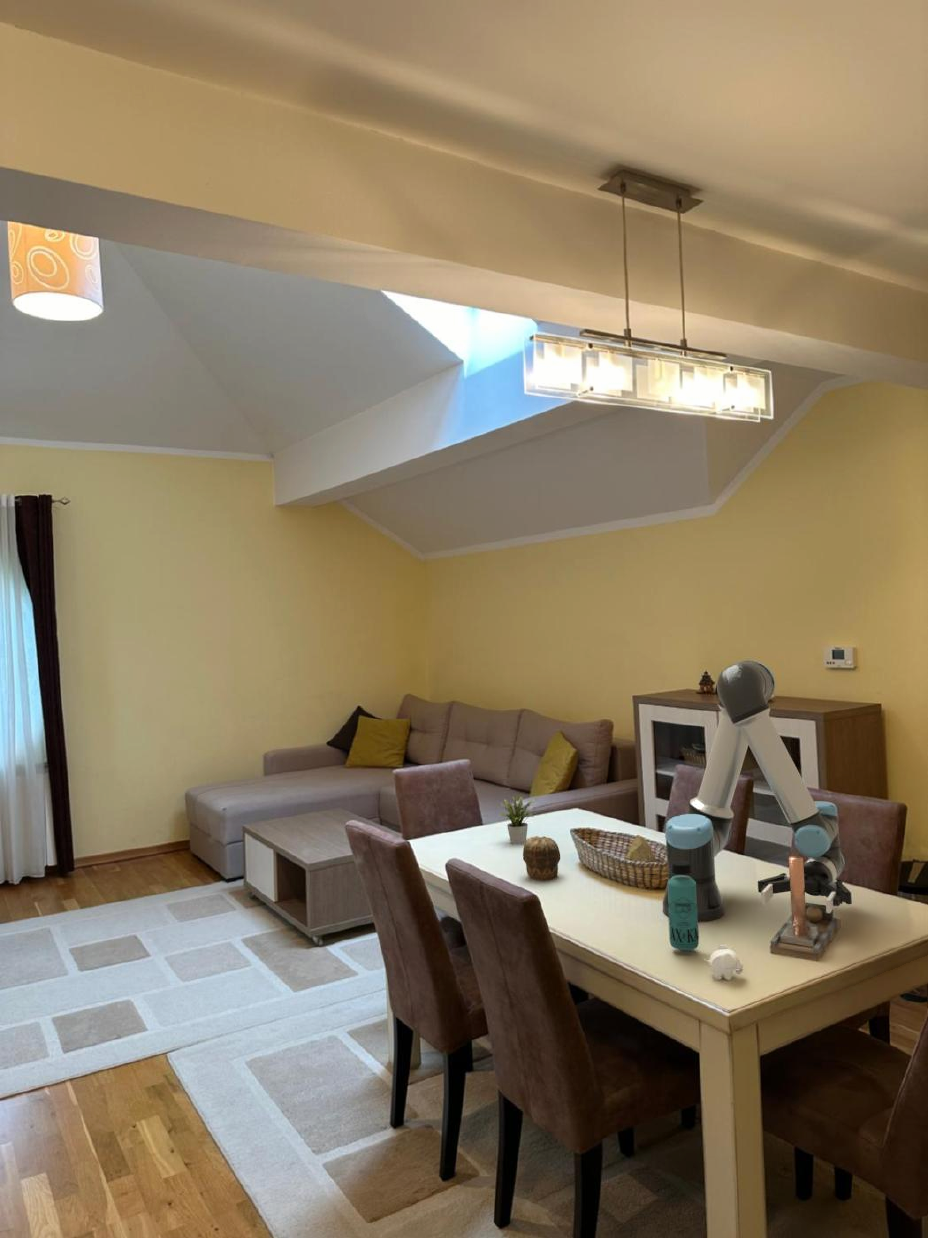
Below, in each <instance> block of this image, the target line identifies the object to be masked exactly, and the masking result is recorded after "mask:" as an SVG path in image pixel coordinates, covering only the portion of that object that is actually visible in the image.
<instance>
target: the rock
mask: <svg viewBox="0 0 928 1238" xmlns="http://www.w3.org/2000/svg"><path fill="white" fill-rule="evenodd" d="M625 857H626V858H628V859H632V860H637V861H647V862H656V863H657V861H656V857H655V855H654V852H653V850H652V848H651V846H650V845H649V844H648V842H647V841H646V839H645V837H643V836H642V835H639V834H637V835H635V838H634V839H633V841H632V843H631V845H630V847H629V848H628V852H627V853H626V854H625Z"/></svg>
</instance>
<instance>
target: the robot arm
mask: <svg viewBox="0 0 928 1238" xmlns="http://www.w3.org/2000/svg"><path fill="white" fill-rule="evenodd" d="M775 680H776V679H775V677H774V674H773V672H772V671H771V669H769V667H768V666H767V665H765V664H763V663H762V662H759V661H755V660H749V659H746V660H742V661H739V662H737V663H733V664H732V663H731V664H730V665H728V666H726V667H725V668H724V669H723V670H722V671H720V674H719V675H718V677H717V680H716V691H717V695H718V698H719V700H718V702H717V703H718V704H717V707H718V708H719V710H720V711H721V716H720V717H719V721H718V725H717V729H716V732H715V736H714V737H713V738H714V739H713V741H712V746H711V750H710V753H709V755H708V760H707V763H706V767H705V771H704V772H703V773H704V774H703V777H702V781H701V784H700V786H699V787H700V788H699V791H698V793H697V796H696V797H694V798H692V799H690V801H689V804H688V808H687V811H686V813H684V814H680V815H677V816H673V817H672V818H669V820H668V821H667V822H666V824H665V832H664V834H665V835H664V836H665V847H666V861H667V863H666V865H667V876H668V877H667V878H668V881H669V880H670V879H671V878H672V877H673V876H677V875H684V876H689V877H691V878H692V879H693V880H694V881H695V882H696V899H697V908H698V909H697V917H698V922H707V921H712V920H717V919H719V918H721V917H722V916H724V914H725V903H724V900H723V897H722V895H721V892H720V890H719V887H718V884H717V882H716V867H715V862H716V861H715V858H716V856H718V854H719V853H720V852H722V851H723V850H724V849H725V848H727V847H726V846H728V844H729V842H730V839H731V837H732V827H731V826H732V824H733V823H732V822H733V819H734V815H735V814H734V812H733V810H732V808H731V805H732V802H733V798H734V794H735V791H736V788H737V784H738V781H739V778H740V774H741V771H742V767H743V764H744V761H745V758H746V754H747V750H748V747H749V748H750V751H751V753H752V754H753V757H754V758H755V760H756V762H757V765H758V766H759V769H760V771H761V772H762V774H763V776H764V778H765V781H766V782H767V783H768V785H769V787H770V789H771V792H772V794H773V796H774V798H775V799H776V801H777V803H778V804H779V806H780V809H781V811H782V812H783V814H784V817H785V818H786V820H787V823H788V824H789V826H790V828H791V831H792V832H793V834H794V837H793V838H794V840H793V841H794V845H795V847H796V849H797V851H798V852H799V853H800V854H802V855H803V856H804V857H807V858H808V859H807V860H806V861H805V862H803V867H804V885H805V894H808V895H809V896H814V897H819V896H821V897H825V898H826V899H825V905H826V913H831V911H832V910H833V911H834V908H835V907H839V906H840V905H842V904H843V903H845V904H847V905H852V901H853V900H852V892H851V891H850V890H849V888H847V886H845V885H844V884H843V880H841V879H838V878H839V877H840V876H841V875H842V873H843V870H844V868H845V864H846V863H845V858H844V856H843V854H842V851H841V846H840V834H839V833H840V830H839V815H838V807H837V805H836V804H835V803H834V802H829V801H823V800H821V801H820V800H817V801H816V800H815V801H814V799H813V797H812V795H811V794H810V791H809V789H808V787H807V785H806V784H805V782H804V779H803V778H802V776H801V774H800V772H799V770H798V769H797V766H796V764H795V762H794V761H793V758H792V757H791V754H790V753H789V752H788V749H787V748H786V745H785V743H784V742H783V739H782V738H781V736H780V734H779V732H778V730H777V728H776V727H775V725H774V723H773V721H772V719H771V717H770V711H771V708H770V706H769V704H768V701H769V700H770V699H771V698H772V695H773V694H774V692H775V687H776V681H775ZM676 861H685V862H688V863H689V864H690V869H691V873H689V874H674V873H672V863H673V862H676ZM668 881H667V882H668ZM757 891H758V893H761V904H762V905H767V903H768V902H769V901H770V900H771V899H772V898H773V897H774V895H775V894H780V893H788V892H790V876H788V875H787V873H784V872H782V873H780V874H778V875H775V876H772V877H768V878H765V879H759V880H757ZM668 908H669V901H668V884H667V883H666V887H665V892H664V895H663V899H662V912H663V914H664V915H666V916H668V914H669V909H668Z"/></svg>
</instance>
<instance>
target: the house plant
mask: <svg viewBox="0 0 928 1238" xmlns="http://www.w3.org/2000/svg"><path fill="white" fill-rule="evenodd" d="M512 799H513V801H512V803H513V807H514V809H513V807H512V805H511V803H510V802H509V801H508V800H507V799H506V798H503V800H504V802H505V804H506V805H504V804H503V803H500V804H501V806H503V807H504V808H505V810H507V814H504V813H503V814H500V815H499V816H500V817H506V818H508V819H509V820H510V823H508V824H507V825H506V827H507V831H508V835H509V841H510V843H513V844H512V845H514V844H521V845H525V844H524V843H525V842H526V841H527V836H528V828H529V827H528V826H529V825H528V823H526V822H525V821H526V819H528V818H529V816H530V817H533V815H534V814H531V813H530V812H531V811H533V809H530V810H528V811H527V812H526V810H527V808H530V807H531V806H532V804H534V803H535V801H536V800H537V798H536V799H532V800H530V801H529V802H527V803H526V804H525V805H524V806H523V803H524V801H523V800H524V797H522V795H520V797H519V800H518V803H517V801H516V799H515V796H512ZM525 817H526V818H525Z"/></svg>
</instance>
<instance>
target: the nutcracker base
mask: <svg viewBox="0 0 928 1238" xmlns="http://www.w3.org/2000/svg"><path fill="white" fill-rule="evenodd" d="M805 903H806V921H807V924H812V925H818V932H820V939H819V940H818V942H817V943H816V945H815V946H814V947H809V946H803V945H797V944H791V943H785V942H781V941H780V935H781V934H782V933H783V931H784V930H785V929H786V928H787V922H788V921H792V914H791V915H790V917H788V919H787V920H786V921H785V923H784V924H783V925H782V926H781V927H780V929H778V931H777V932H776V933H775V934H774V936H773V937H772V938H771V939H770V940H769V941H770V942H769V943H770V946H769V951H770V954H775V955H780V956H781V955H782V956H786V957H792V958H796V959H797V958H798V959H803V960H810V961H816V962H819V961H820V960H821V958H822V956H823V955H824V953H825V952H826V950H827V948H828V947H829V945H831V942H832V941H833V939H834V937H835V936H836V934H837V933H838V931H839V930H840V929H841V927H842V919H841V918H839V917H835V916H834V909H833V910H832V911H831V913H826V904H820V903H819V904H818V903H811V902H805Z"/></svg>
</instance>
